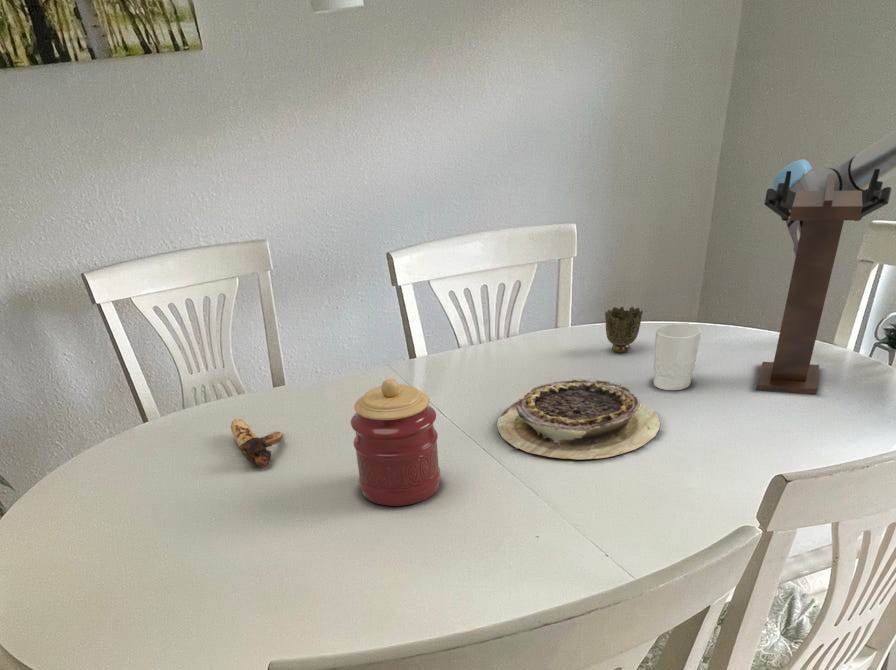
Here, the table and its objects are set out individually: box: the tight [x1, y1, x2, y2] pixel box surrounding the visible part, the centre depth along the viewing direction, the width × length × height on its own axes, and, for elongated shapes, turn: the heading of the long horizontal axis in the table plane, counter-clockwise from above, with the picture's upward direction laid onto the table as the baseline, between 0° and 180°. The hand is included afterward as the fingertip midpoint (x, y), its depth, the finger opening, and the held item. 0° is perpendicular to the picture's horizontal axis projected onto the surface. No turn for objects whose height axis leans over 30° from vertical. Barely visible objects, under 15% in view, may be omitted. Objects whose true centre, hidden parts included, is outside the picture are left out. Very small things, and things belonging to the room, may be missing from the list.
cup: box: [604, 306, 644, 354], centre depth 161 cm, size 8×7×8 cm
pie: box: [496, 378, 661, 460], centre depth 136 cm, size 28×27×5 cm
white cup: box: [652, 323, 702, 391], centre depth 145 cm, size 8×8×10 cm
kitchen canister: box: [350, 378, 441, 507], centre depth 119 cm, size 13×13×18 cm
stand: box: [755, 191, 862, 395], centre depth 136 cm, size 10×12×30 cm
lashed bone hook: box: [230, 418, 283, 468], centre depth 139 cm, size 9×5×18 cm
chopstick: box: [823, 174, 835, 209], centre depth 128 cm, size 1×22×1 cm, turn 156°
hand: (830, 178), depth 133 cm, fingers open, 13 cm apart
